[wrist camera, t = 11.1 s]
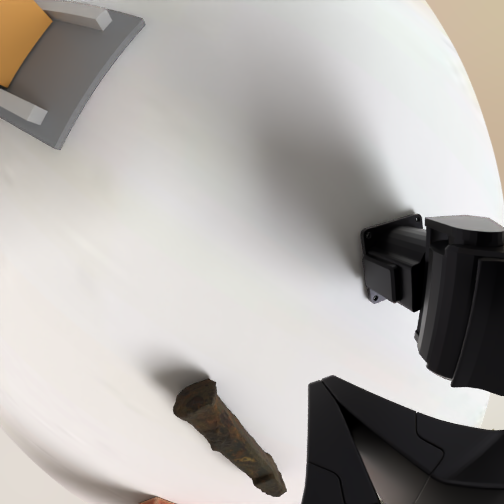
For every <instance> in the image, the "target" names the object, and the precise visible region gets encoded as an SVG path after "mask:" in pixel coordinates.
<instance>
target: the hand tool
mask: <svg viewBox="0 0 504 504" xmlns="http://www.w3.org/2000/svg"><path fill="white" fill-rule="evenodd" d="M173 412H174V414H175V415H176V416H177V417H179V418H180V419H182V420H184V421H187V422H188V423H190V424H192V425H193V426H194V427H195V428H196V429H197V430H198V431H199V432H200V433H201V434H202V435H203V436H204V437H205V438H206V439H207V440H208V442H209V443H210V445H211V448H212V450H214V451H218V452H221V453H222V454H223V455H224V456H225V457H226V458H228V459H229V460H230V461H231V462H232V463H233V464H234V465H236V466H237V467H238V468H239V469H240V470H242V471H243V472H245V473H246V474H247V475H248V476H249V477H250V478H252V480H253V484H254V486H256V487H257V488H259V489H261V491H262V492H266V494H267V495H271V496H273V497H280V496H281V495H282V494H284V493H285V492H287V489H286V487H285V483H284V481H283V479H282V475H281V473H280V472H279V471H278V468H277V465H276V464H275V462H274V460H273V458H272V456H271V455H270V454H268V453H265V452H264V451H263V450H262V448H261V447H260V446H259V445H258V444H257V443H256V441H255V440H254V438H253V437H252V436H250V435H249V434H248V432H247V431H246V430H245V429H244V427H243V426H242V425H241V423H240V422H239V420H238V419H237V418H236V416H235V415H233V414H232V413H231V411H230V410H229V409H228V408H227V407H226V406H225V404H224V403H223V402H222V401H221V400H220V398H219V397H218V395H217V389H216V382H214V381H212V380H210V379H206V380H204V381H202V382H198V383H195V384H192V385H190V386H188V387H187V388H185V389H184V390H182V391H181V392H180V393H179V394H178V396H177V398H176V402H175V405H174V407H173Z"/></svg>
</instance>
